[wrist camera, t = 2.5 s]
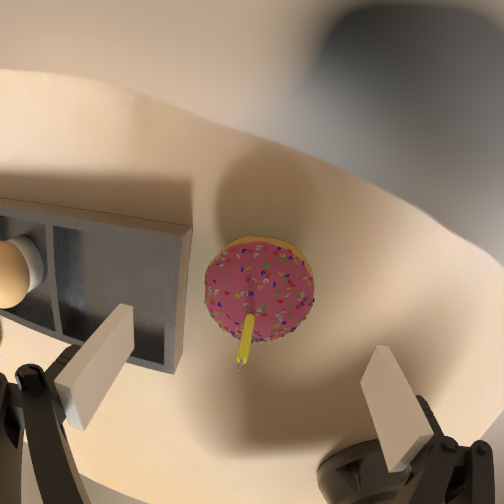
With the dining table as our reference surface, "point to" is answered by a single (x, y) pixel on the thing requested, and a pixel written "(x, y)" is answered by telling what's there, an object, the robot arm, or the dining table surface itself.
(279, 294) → the cupcake
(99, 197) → the dining table surface
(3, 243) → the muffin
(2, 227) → the divided tray
